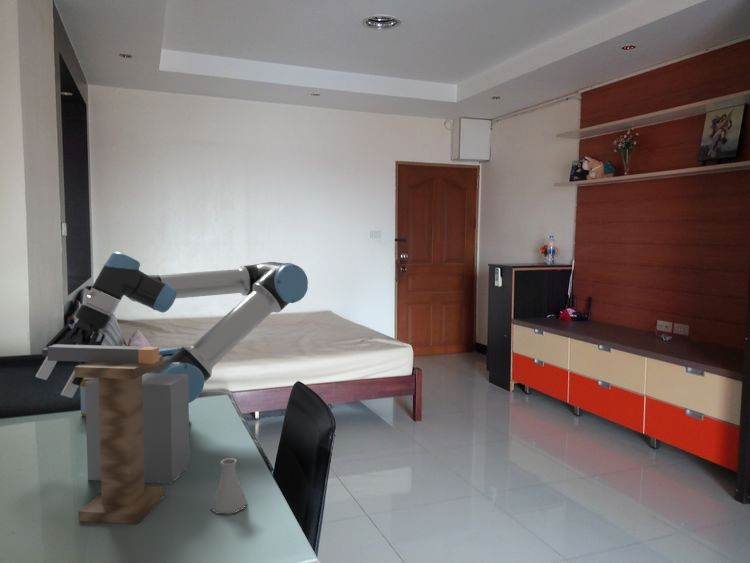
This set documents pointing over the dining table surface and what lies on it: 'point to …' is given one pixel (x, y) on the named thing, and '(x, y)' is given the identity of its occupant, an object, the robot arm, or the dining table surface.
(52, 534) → the dining table surface
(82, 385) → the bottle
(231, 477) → the flask
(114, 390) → the stand
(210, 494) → the dining table surface
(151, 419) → the block
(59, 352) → the grey long bar
